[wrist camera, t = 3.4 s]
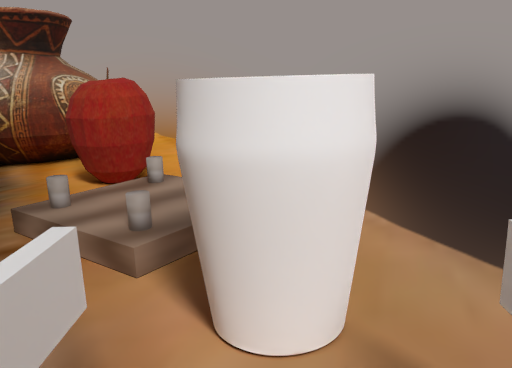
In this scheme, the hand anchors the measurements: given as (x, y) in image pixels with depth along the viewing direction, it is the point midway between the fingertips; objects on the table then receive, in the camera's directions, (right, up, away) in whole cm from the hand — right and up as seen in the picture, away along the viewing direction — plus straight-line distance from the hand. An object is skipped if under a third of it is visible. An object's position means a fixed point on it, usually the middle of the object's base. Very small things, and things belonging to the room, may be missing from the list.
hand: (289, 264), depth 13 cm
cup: (0, -5, +9) cm, 10 cm away
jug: (-40, +7, +63) cm, 75 cm away
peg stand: (-10, -1, +25) cm, 27 cm away
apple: (-18, +3, +42) cm, 46 cm away
